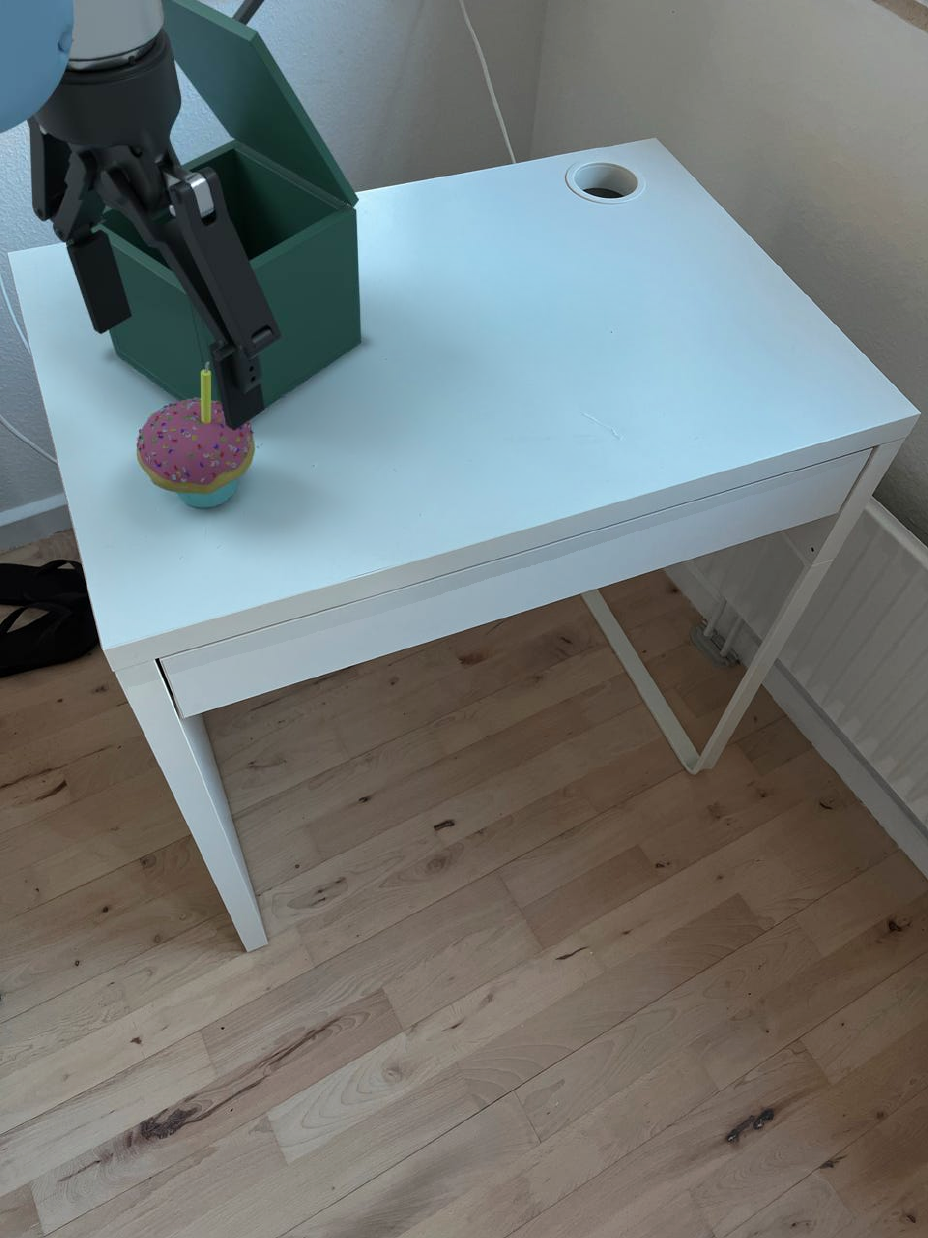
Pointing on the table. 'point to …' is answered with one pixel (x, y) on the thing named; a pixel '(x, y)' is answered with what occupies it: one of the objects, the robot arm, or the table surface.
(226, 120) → the cool box lid
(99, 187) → the robot arm
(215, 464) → the cupcake
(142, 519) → the table surface
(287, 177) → the cool box
